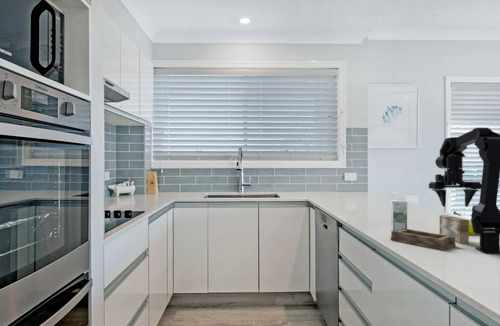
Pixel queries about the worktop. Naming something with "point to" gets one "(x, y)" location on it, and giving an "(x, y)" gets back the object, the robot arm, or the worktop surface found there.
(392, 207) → the syrup box
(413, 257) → the worktop surface
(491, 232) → the robot arm
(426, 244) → the walnut ledge
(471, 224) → the element tile
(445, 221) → the tan box
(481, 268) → the worktop surface
